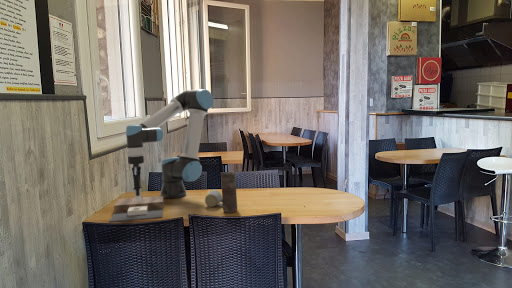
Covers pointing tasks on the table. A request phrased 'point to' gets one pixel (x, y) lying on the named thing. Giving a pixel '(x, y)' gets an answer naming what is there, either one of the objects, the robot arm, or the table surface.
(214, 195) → the ceramic mug
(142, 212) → the tile
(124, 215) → the mat
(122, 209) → the riser
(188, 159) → the robot arm
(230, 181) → the brown rectangular block
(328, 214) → the table surface
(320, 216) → the table surface
